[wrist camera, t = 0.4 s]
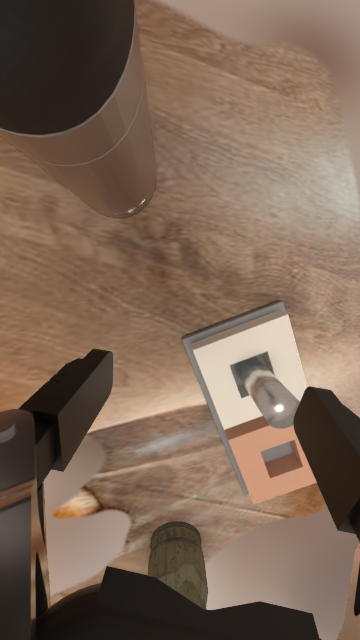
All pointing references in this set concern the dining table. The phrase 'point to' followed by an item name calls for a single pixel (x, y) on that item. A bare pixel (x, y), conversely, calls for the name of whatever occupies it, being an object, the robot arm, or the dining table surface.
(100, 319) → the dining table surface
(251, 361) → the steel pin
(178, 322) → the dining table surface
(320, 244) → the dining table surface
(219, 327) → the dock board
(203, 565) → the thermos
